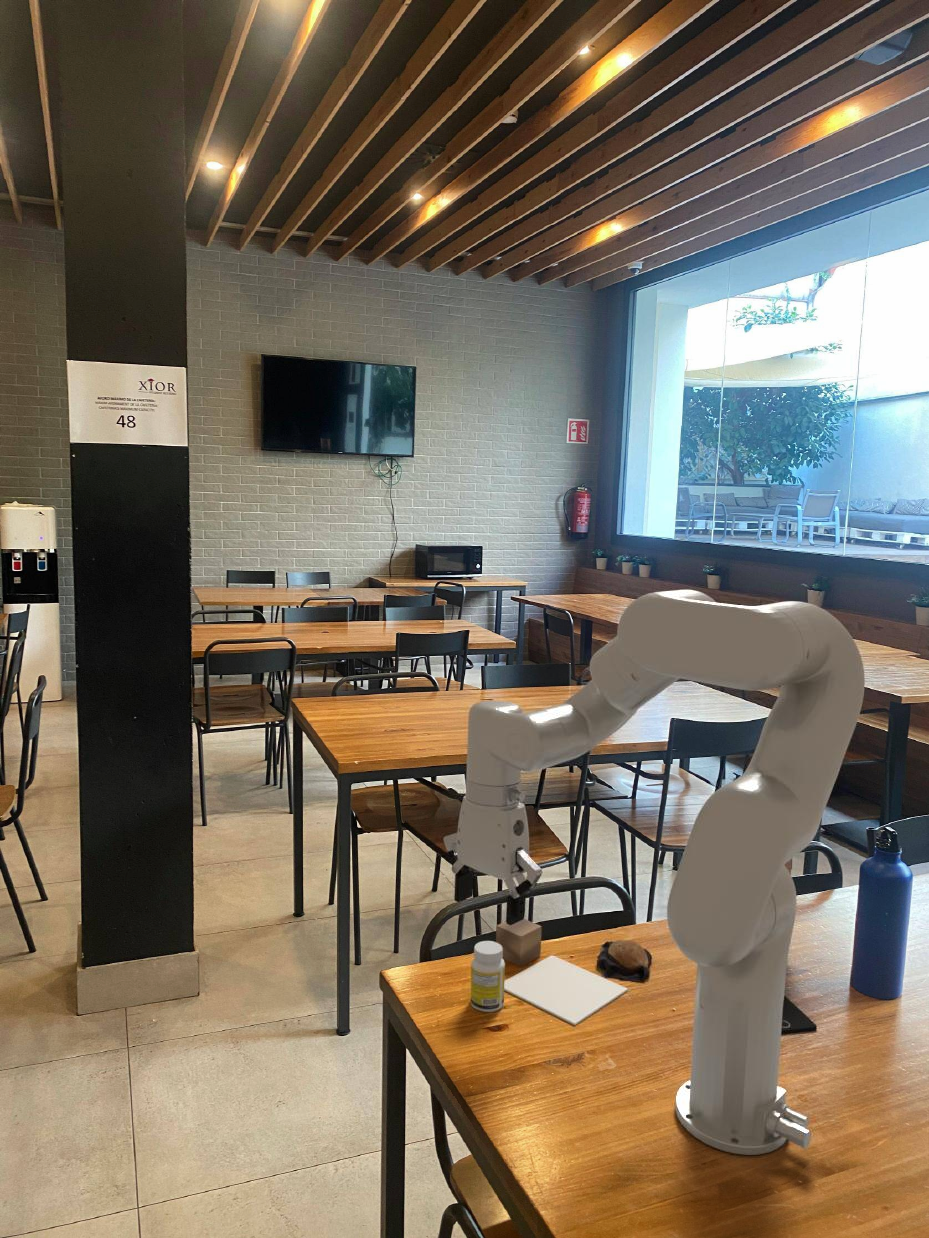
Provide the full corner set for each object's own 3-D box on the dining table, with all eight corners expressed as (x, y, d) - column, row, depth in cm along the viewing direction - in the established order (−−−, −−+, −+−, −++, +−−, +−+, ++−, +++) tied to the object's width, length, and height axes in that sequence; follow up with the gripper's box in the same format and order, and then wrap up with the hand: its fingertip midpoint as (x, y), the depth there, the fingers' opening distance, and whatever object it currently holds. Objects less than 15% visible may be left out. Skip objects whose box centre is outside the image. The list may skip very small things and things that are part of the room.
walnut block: (540, 956, 140) (541, 926, 139) (519, 967, 136) (521, 936, 136) (516, 945, 143) (517, 915, 143) (495, 955, 140) (496, 925, 139)
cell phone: (758, 1039, 119) (759, 1032, 119) (697, 972, 137) (697, 966, 137) (818, 1032, 121) (818, 1026, 121) (749, 967, 139) (749, 961, 138)
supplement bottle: (484, 991, 129) (485, 935, 128) (510, 1003, 126) (512, 946, 125) (463, 1004, 125) (464, 947, 124) (489, 1017, 122) (491, 958, 121)
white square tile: (627, 990, 130) (627, 988, 130) (574, 1025, 121) (575, 1023, 121) (551, 956, 140) (551, 954, 139) (497, 986, 130) (497, 984, 130)
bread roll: (598, 948, 144) (599, 926, 144) (651, 954, 143) (652, 932, 142) (595, 980, 134) (596, 957, 133) (652, 987, 132) (653, 963, 132)
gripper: (560, 800, 119) (554, 922, 121) (466, 772, 131) (462, 883, 133) (524, 813, 114) (518, 940, 116) (429, 782, 125) (426, 898, 127)
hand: (488, 910), depth 124 cm, fingers open, 9 cm apart
